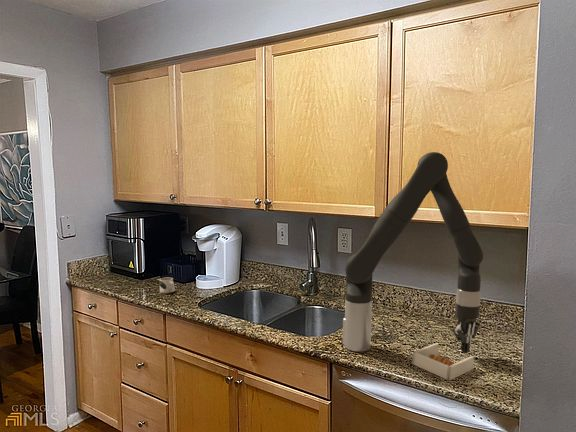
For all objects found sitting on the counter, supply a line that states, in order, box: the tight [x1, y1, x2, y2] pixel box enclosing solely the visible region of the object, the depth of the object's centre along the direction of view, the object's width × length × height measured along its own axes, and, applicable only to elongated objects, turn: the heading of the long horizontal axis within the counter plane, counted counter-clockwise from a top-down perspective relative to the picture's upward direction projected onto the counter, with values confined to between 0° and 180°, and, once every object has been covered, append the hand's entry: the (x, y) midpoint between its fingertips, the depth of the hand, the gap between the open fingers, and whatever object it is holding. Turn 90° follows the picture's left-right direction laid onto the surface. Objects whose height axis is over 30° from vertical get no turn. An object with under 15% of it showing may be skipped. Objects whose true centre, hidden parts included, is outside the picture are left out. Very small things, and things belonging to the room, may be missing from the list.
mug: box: [158, 276, 176, 294], centre depth 221 cm, size 10×7×7 cm
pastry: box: [429, 354, 455, 366], centre depth 137 cm, size 9×7×4 cm
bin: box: [411, 342, 475, 381], centre depth 139 cm, size 14×13×4 cm
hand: (465, 351), depth 146 cm, fingers closed
